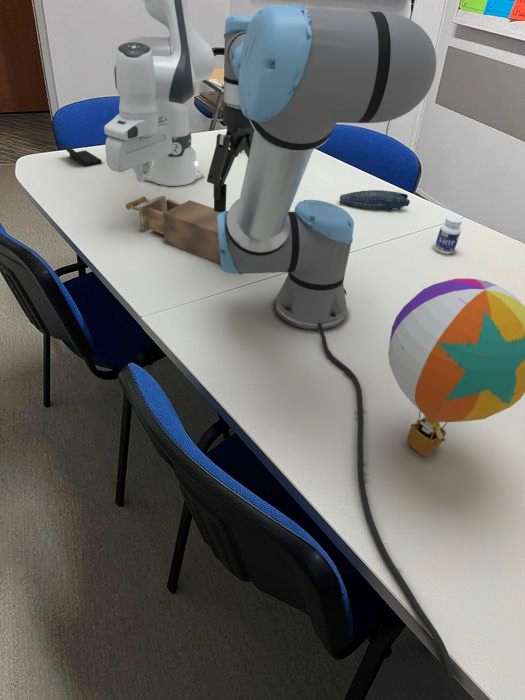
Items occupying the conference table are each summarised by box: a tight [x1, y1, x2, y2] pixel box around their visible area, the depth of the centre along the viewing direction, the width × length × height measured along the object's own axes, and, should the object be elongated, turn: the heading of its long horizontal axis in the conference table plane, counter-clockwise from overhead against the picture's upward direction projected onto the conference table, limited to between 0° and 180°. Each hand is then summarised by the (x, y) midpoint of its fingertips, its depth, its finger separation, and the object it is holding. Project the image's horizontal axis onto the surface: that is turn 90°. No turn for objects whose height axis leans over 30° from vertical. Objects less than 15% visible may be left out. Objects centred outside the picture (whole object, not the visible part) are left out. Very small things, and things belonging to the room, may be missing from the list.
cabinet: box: [163, 199, 221, 265], centre depth 129 cm, size 21×10×8 cm, turn 59°
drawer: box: [125, 195, 182, 236], centre depth 134 cm, size 26×9×6 cm, turn 59°
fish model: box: [339, 189, 411, 211], centre depth 158 cm, size 7×21×5 cm, turn 84°
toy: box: [387, 278, 525, 458], centre depth 75 cm, size 20×20×30 cm
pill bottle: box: [434, 215, 463, 255], centre depth 137 cm, size 5×5×9 cm
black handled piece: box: [57, 140, 103, 167], centre depth 170 cm, size 12×7×10 cm
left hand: (143, 179), depth 132 cm, fingers closed
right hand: (236, 202), depth 120 cm, fingers open, 13 cm apart
